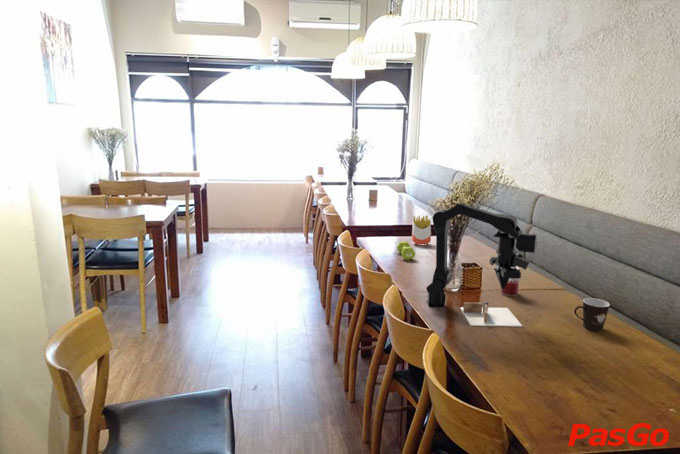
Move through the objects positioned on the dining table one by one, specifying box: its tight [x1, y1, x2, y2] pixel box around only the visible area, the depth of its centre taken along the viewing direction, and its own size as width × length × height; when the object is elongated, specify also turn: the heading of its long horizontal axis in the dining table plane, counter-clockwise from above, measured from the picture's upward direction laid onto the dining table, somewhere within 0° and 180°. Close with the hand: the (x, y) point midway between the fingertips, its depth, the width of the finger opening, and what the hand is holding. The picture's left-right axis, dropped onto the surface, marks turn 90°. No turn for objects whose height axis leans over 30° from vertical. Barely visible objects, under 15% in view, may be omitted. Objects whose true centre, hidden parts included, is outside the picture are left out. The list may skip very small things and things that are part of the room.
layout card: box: [459, 306, 523, 328], centre depth 181 cm, size 19×17×1 cm
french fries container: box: [411, 215, 432, 245], centre depth 286 cm, size 5×11×18 cm, turn 91°
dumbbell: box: [396, 240, 416, 261], centre depth 262 cm, size 16×8×7 cm, turn 3°
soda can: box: [500, 266, 521, 297], centre depth 204 cm, size 7×7×12 cm
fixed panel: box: [463, 301, 489, 313], centre depth 183 cm, size 9×2×5 cm, turn 88°
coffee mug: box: [573, 297, 611, 333], centre depth 171 cm, size 12×9×10 cm
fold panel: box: [484, 304, 488, 323], centre depth 178 cm, size 9×1×4 cm, turn 163°
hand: (502, 288), depth 178 cm, fingers closed
